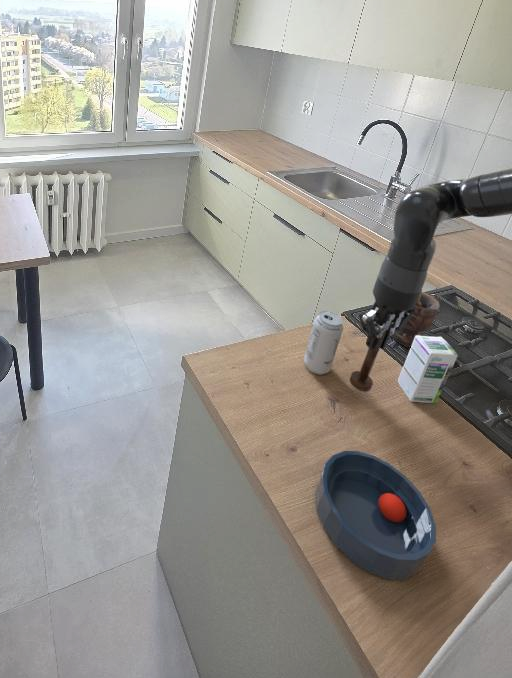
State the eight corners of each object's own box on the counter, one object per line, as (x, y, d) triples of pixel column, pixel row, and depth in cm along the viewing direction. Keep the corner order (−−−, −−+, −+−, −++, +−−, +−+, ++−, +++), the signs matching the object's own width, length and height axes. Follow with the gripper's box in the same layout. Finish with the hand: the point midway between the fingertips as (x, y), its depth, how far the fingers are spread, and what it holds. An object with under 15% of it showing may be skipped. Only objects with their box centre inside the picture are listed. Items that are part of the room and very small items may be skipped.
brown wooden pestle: (358, 373, 97) (379, 318, 90) (375, 388, 93) (398, 332, 86) (345, 378, 95) (365, 323, 88) (361, 394, 92) (384, 338, 85)
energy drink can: (327, 380, 98) (343, 331, 92) (300, 369, 101) (314, 320, 95) (331, 364, 103) (346, 315, 96) (305, 353, 105) (319, 306, 99)
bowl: (364, 460, 80) (372, 440, 78) (447, 558, 66) (461, 536, 64) (294, 487, 75) (301, 466, 73) (369, 600, 61) (381, 578, 59)
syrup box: (410, 402, 93) (432, 353, 87) (395, 381, 99) (415, 333, 93) (436, 404, 93) (460, 355, 87) (420, 382, 98) (441, 335, 93)
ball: (381, 506, 73) (408, 512, 71) (380, 524, 70) (408, 531, 68) (376, 484, 73) (403, 490, 71) (375, 502, 70) (403, 509, 68)
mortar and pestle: (420, 362, 104) (448, 298, 96) (381, 346, 109) (405, 283, 101) (424, 337, 113) (450, 275, 105) (388, 322, 117) (410, 263, 109)
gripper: (390, 297, 77) (364, 367, 84) (442, 285, 81) (414, 352, 89) (358, 274, 84) (336, 341, 91) (408, 264, 88) (384, 328, 95)
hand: (375, 346), depth 90 cm, fingers closed on brown wooden pestle, 2 cm apart
